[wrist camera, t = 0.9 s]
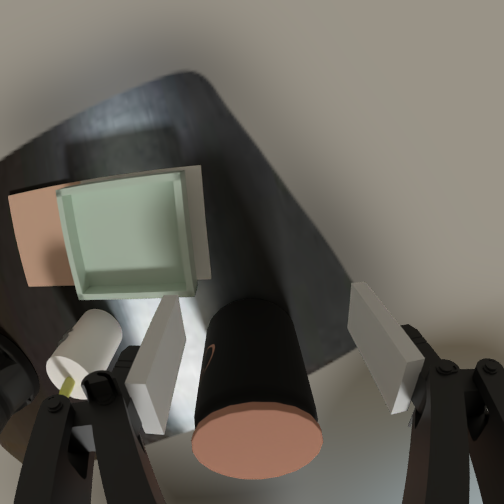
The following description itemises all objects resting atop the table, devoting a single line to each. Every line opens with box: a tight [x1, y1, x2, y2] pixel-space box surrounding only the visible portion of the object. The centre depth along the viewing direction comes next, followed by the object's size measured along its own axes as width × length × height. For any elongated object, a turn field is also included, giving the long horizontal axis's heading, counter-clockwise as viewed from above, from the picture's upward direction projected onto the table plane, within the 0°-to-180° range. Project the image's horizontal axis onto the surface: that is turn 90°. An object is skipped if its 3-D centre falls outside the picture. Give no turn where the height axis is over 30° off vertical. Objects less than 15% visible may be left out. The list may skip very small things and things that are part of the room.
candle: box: [46, 309, 122, 399], centre depth 31 cm, size 6×6×15 cm
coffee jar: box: [191, 299, 323, 479], centre depth 30 cm, size 11×11×18 cm
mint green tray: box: [55, 170, 198, 300], centre depth 31 cm, size 13×12×4 cm
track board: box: [8, 165, 212, 286], centre depth 34 cm, size 26×13×1 cm, turn 93°
